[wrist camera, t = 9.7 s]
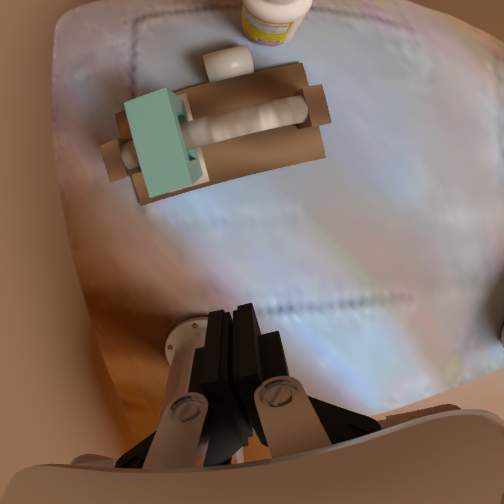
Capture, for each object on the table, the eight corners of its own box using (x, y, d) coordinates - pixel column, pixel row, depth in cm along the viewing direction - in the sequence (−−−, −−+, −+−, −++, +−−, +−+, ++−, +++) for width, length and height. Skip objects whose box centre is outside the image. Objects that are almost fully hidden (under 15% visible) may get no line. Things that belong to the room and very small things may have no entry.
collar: (203, 174, 34) (192, 185, 26) (170, 184, 34) (149, 198, 26) (183, 100, 31) (166, 87, 23) (150, 111, 31) (123, 102, 23)
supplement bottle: (272, -4, 28) (288, -58, 16) (306, 31, 30) (337, -12, 18) (229, 21, 29) (226, -30, 17) (263, 58, 31) (277, 18, 19)
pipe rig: (324, 157, 36) (345, 161, 28) (142, 204, 37) (121, 220, 29) (301, 64, 32) (317, 46, 24) (116, 114, 32) (89, 109, 25)
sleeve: (248, 61, 32) (255, 78, 31) (207, 71, 32) (211, 89, 31) (244, 39, 29) (251, 54, 27) (201, 49, 29) (204, 65, 28)
